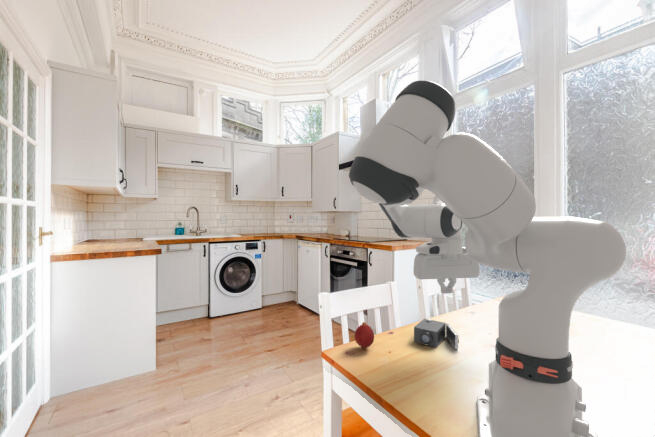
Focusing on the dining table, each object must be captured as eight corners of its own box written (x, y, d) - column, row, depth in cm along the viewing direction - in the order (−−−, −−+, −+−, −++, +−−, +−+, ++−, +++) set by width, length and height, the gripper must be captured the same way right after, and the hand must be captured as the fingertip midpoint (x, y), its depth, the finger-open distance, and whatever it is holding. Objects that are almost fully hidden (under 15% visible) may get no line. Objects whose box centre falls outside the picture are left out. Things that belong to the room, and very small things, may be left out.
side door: (459, 349, 87) (459, 335, 87) (455, 349, 87) (455, 335, 87) (449, 336, 96) (449, 323, 96) (445, 336, 96) (445, 323, 96)
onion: (355, 343, 90) (355, 317, 90) (374, 345, 89) (374, 319, 89) (353, 352, 85) (353, 324, 85) (373, 354, 83) (373, 326, 83)
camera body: (435, 349, 87) (435, 331, 87) (412, 343, 91) (412, 326, 91) (445, 336, 96) (445, 321, 96) (424, 331, 100) (424, 316, 100)
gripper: (470, 246, 94) (470, 289, 94) (411, 246, 91) (411, 291, 91) (484, 248, 88) (484, 294, 88) (420, 248, 84) (420, 296, 84)
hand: (446, 292), depth 89 cm, fingers closed
